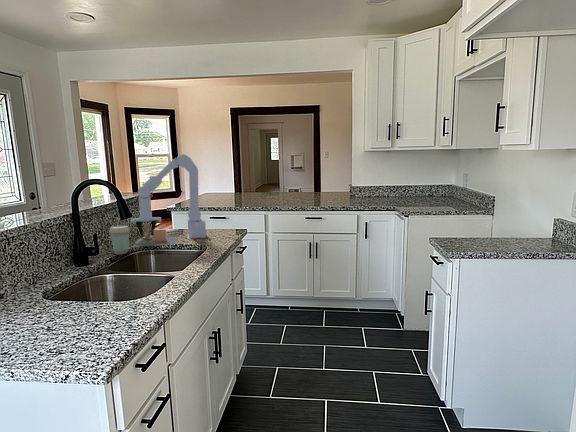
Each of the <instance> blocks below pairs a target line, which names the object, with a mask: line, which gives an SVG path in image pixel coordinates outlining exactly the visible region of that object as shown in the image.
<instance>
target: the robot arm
mask: <svg viewBox="0 0 576 432" xmlns="http://www.w3.org/2000/svg"><path fill="white" fill-rule="evenodd" d="M179 166H180V167H181V168H184V169H185V170H186V171H187V172H188V174H189V175H188V176H189V177H188V178H189V179H188V182H189V208H188V210H187V216H188V219H187V231H188V232H187V233H188V235H187V239H192V238H193V239H196V238H198V239H199V238H201V239H204V238H207V233H208V231H207V229H206V228H207V227H206V220H205V219H202V218H201V217H202V214H201V211H200V204H199V169H198V167H197V165H196V164H195V162H194V161H193V159H192V158H190V156H188V155H187V154H183V153H182V154H179V155H177V157H175V158H173V159H172V160H171V161H169V163H168V162H167V164H166V165H165V166H164V167H163V169H161V171H160V172H159V173H158V174H153V175H150V176H149V177H148V179H147V180H146V181H145V183H142V186H139V188H138V190H137V194H138V205H139V206H138V208H139V217H136V218H135V217H133V218H131V219H130V223H131V224H132V223H135V226H136V227H137V229H138V230H139V234H140V237H144V228H143V223H149V222H150V229H151V236H152V237H154V232H153V230H155V228H156V225H157V224H158V222H162V217H161V216H160V217H159V216H153V213H152V212H153V211H152V210H153V209H152V200H151V193H152V192H154V191H155V190H156V189H158V187H159V186H160V185H161V184H162V183H163V181H162V179H163V178H165V177H166V176H167V175H168V174H169V173H170V172H172V170H173V169H178V168H179Z"/></svg>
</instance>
